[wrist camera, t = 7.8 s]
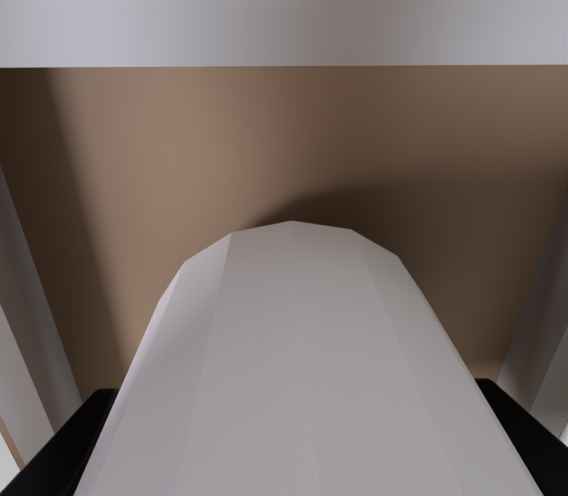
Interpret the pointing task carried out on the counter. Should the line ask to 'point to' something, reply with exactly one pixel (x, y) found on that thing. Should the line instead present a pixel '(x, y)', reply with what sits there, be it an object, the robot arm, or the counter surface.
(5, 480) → the counter surface
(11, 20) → the brown square tray
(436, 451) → the shot glass
